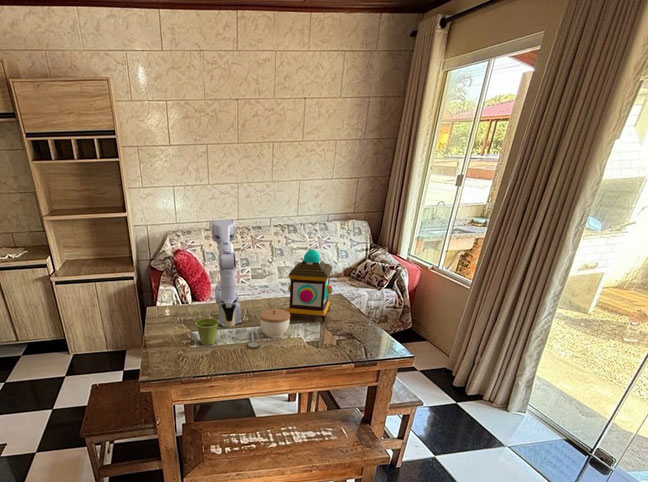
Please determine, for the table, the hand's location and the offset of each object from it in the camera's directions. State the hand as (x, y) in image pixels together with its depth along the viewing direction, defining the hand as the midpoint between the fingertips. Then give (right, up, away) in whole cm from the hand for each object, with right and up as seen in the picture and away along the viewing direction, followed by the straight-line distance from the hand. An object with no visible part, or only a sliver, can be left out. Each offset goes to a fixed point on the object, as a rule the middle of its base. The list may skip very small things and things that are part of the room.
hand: (229, 318), depth 164 cm
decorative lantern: (+37, +5, +26) cm, 46 cm away
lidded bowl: (+19, -6, +8) cm, 21 cm away
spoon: (+10, -9, +3) cm, 13 cm away
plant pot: (-9, -9, +3) cm, 13 cm away
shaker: (0, -2, +1) cm, 3 cm away
